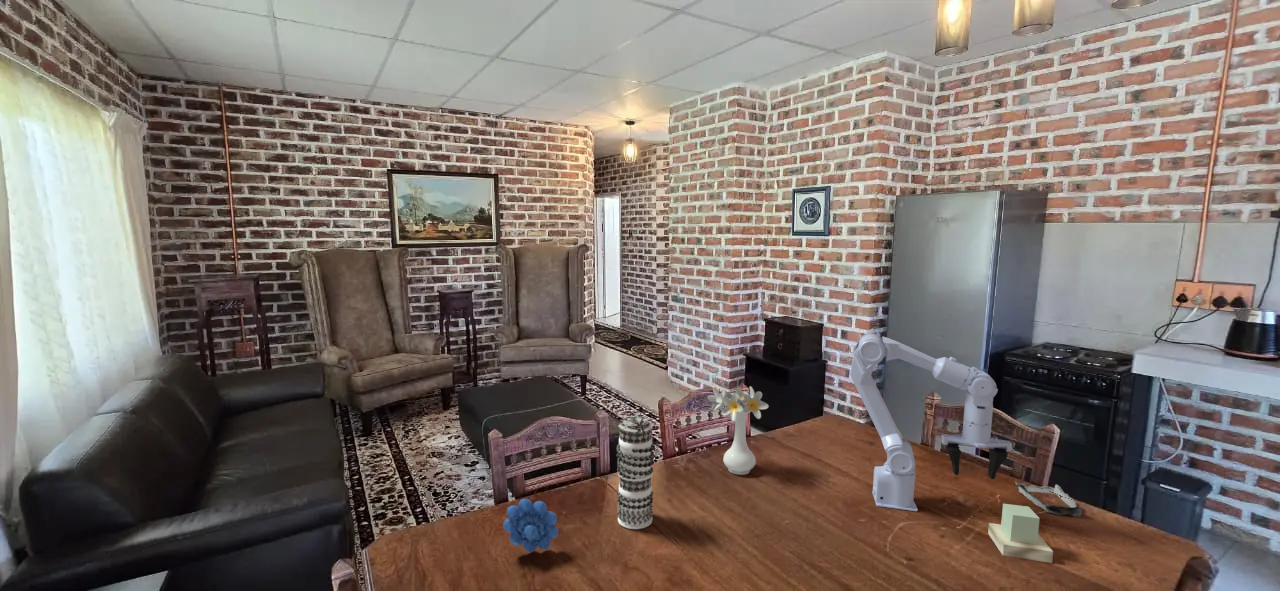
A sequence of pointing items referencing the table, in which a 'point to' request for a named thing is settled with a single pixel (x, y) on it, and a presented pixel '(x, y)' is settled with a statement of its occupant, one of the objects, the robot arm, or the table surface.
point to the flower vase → (738, 425)
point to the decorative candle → (635, 473)
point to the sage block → (1020, 524)
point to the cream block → (1020, 546)
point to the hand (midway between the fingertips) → (973, 475)
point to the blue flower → (531, 525)
